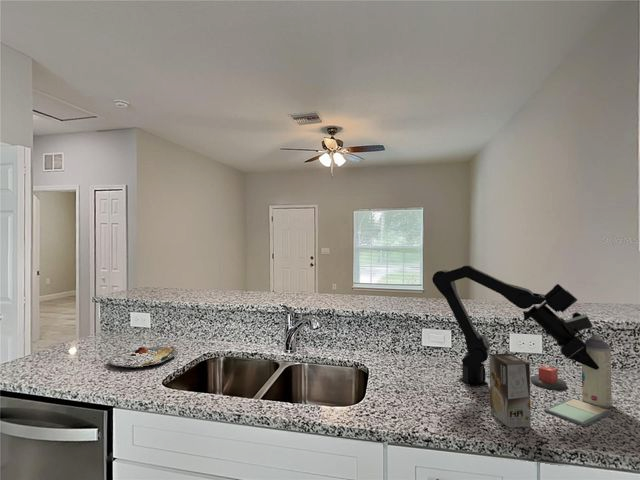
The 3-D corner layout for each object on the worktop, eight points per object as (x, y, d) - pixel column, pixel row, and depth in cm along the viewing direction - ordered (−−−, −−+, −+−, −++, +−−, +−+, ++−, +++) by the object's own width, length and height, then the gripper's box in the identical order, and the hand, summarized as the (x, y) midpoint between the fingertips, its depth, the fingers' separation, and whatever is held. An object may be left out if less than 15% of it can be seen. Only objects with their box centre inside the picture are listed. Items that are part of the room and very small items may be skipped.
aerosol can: (585, 396, 112) (584, 330, 112) (614, 403, 107) (612, 334, 107) (579, 403, 108) (578, 334, 108) (609, 411, 103) (608, 338, 103)
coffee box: (532, 427, 94) (531, 363, 94) (508, 428, 94) (507, 364, 94) (510, 410, 103) (510, 352, 103) (488, 412, 103) (488, 353, 103)
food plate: (140, 349, 166) (140, 342, 166) (187, 353, 161) (187, 345, 161) (96, 370, 141) (96, 361, 141) (150, 374, 137) (150, 365, 137)
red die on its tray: (557, 392, 116) (556, 375, 116) (524, 382, 124) (524, 366, 124) (572, 385, 121) (571, 369, 121) (540, 376, 130) (540, 361, 130)
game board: (570, 400, 110) (570, 397, 110) (610, 413, 101) (610, 410, 101) (544, 411, 103) (544, 408, 103) (584, 426, 94) (584, 423, 94)
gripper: (574, 309, 103) (626, 355, 97) (569, 300, 119) (614, 339, 113) (541, 335, 106) (590, 380, 101) (541, 323, 122) (583, 361, 117)
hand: (595, 364), depth 108 cm, fingers open, 9 cm apart
